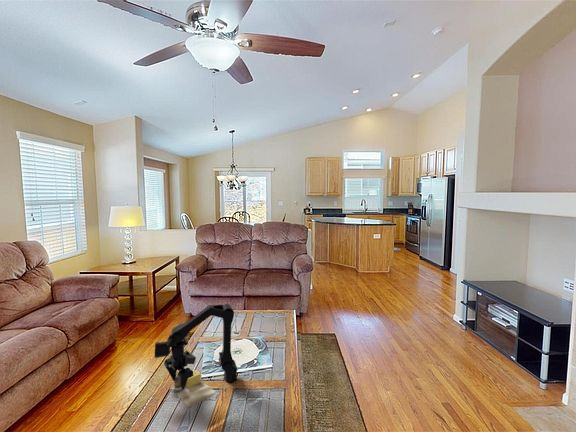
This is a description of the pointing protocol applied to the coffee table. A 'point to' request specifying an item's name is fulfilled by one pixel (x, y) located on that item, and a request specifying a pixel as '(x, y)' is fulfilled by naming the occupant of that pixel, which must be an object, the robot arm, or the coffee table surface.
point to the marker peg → (177, 385)
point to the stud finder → (193, 379)
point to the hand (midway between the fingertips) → (178, 384)
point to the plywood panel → (195, 393)
